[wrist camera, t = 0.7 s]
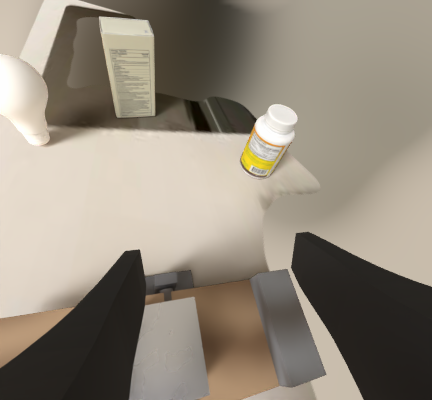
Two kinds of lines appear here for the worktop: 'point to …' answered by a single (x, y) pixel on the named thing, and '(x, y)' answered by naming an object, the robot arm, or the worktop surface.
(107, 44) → the skincare box
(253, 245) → the worktop surface
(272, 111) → the supplement bottle
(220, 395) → the beam
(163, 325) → the steel block
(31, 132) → the lightbulb
